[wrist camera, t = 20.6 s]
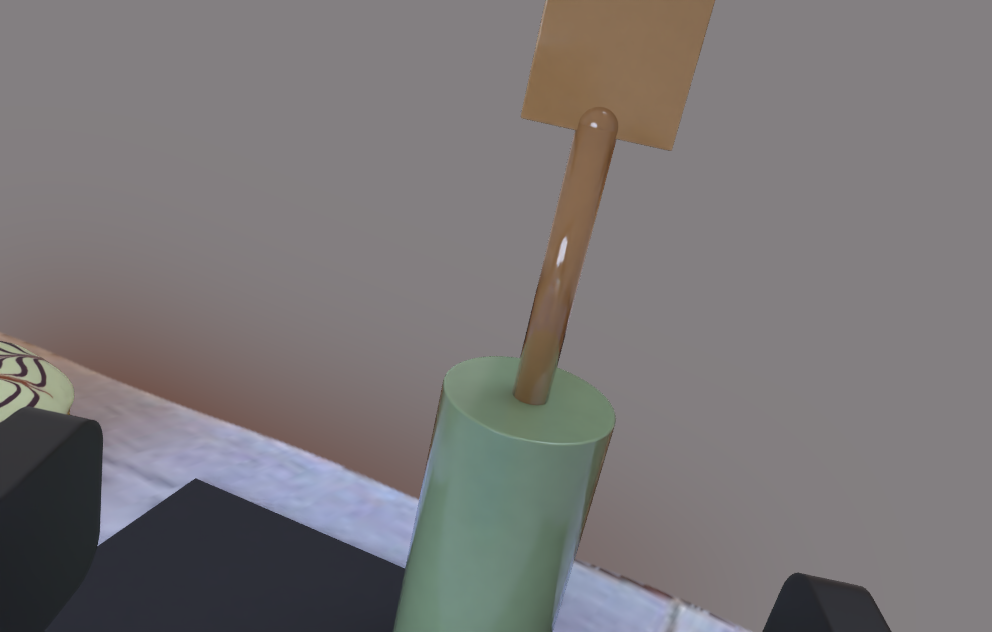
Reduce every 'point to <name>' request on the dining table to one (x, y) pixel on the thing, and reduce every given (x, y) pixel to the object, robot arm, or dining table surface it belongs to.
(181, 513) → the mat
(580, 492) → the spatula crock
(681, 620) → the dining table surface
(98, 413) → the dining table surface
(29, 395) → the decorated donut
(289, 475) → the dining table surface
